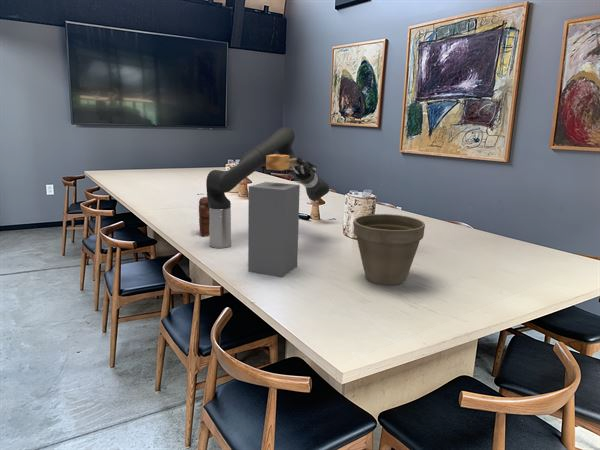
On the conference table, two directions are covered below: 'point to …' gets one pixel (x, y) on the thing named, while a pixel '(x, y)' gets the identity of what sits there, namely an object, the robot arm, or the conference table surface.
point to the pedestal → (273, 228)
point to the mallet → (280, 162)
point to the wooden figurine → (204, 216)
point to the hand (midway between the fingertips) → (293, 158)
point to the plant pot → (387, 246)
